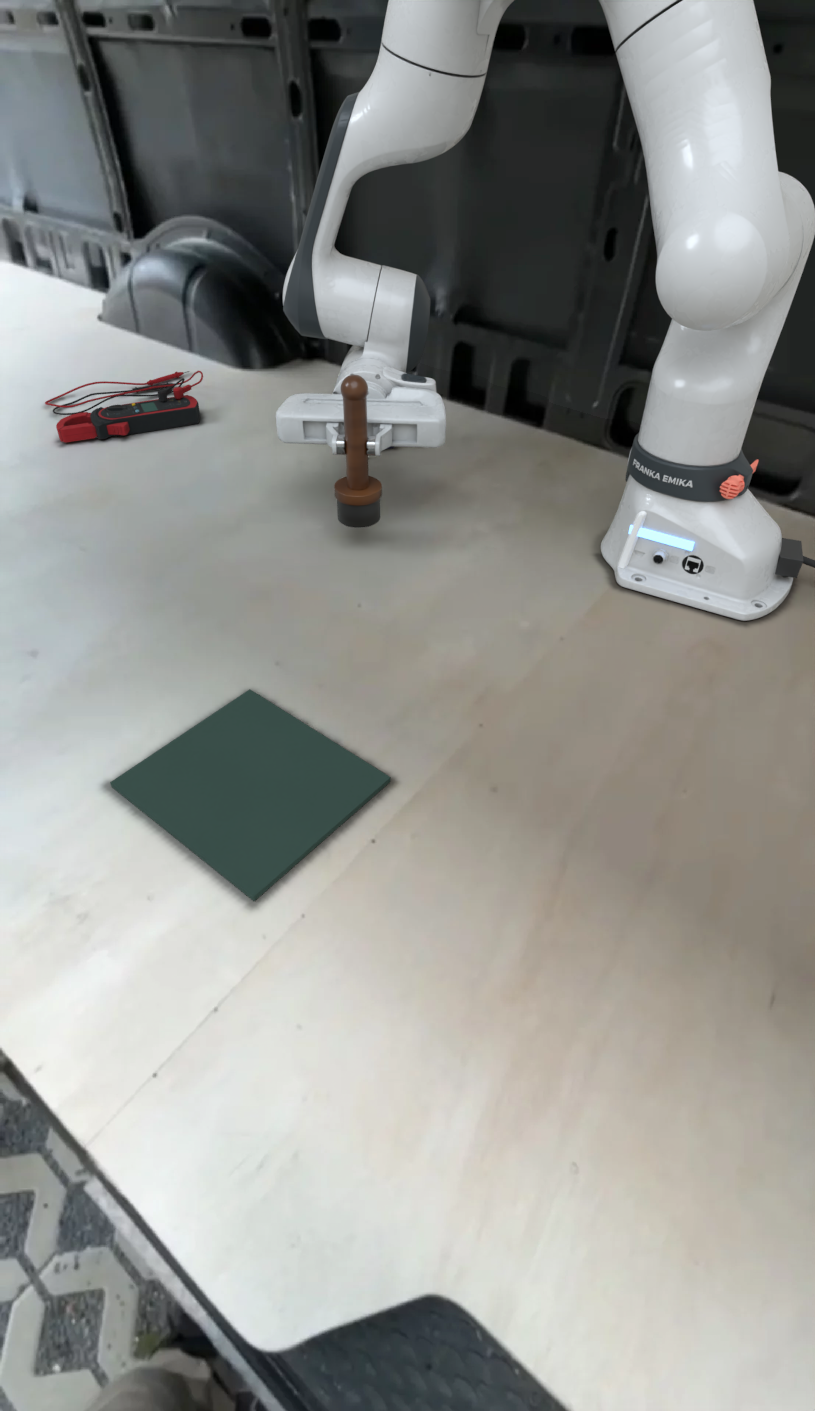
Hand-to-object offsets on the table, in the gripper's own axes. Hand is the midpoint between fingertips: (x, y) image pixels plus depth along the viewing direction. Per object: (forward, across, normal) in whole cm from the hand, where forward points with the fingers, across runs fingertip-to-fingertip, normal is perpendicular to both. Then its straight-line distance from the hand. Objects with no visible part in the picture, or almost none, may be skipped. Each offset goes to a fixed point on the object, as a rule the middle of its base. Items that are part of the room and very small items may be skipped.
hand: (355, 449), depth 89 cm
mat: (+40, -5, +13) cm, 42 cm away
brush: (-1, 0, +9) cm, 9 cm away
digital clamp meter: (-40, -41, +12) cm, 59 cm away
